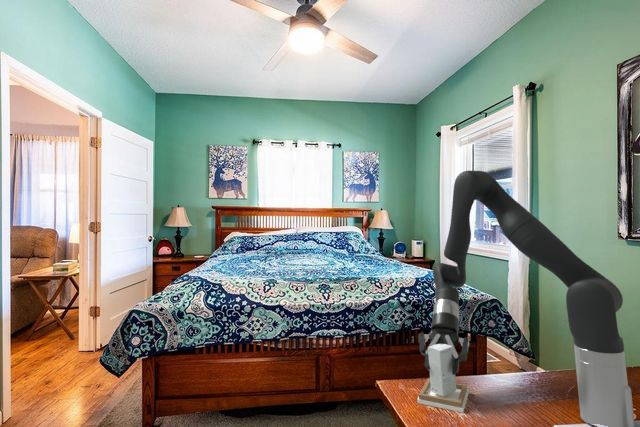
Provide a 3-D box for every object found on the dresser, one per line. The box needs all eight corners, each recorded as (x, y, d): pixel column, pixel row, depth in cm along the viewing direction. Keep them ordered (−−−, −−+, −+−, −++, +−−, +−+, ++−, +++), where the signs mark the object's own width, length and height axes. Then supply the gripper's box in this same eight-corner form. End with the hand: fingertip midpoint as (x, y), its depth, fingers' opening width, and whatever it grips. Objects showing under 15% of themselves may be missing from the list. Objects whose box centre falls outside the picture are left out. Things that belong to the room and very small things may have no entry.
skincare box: (443, 397, 90) (440, 351, 90) (429, 391, 93) (426, 346, 94) (457, 390, 93) (454, 346, 94) (443, 384, 97) (440, 342, 97)
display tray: (468, 392, 95) (468, 384, 95) (463, 412, 85) (462, 403, 85) (427, 385, 101) (426, 377, 101) (417, 403, 91) (417, 394, 91)
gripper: (419, 309, 104) (411, 361, 93) (469, 312, 97) (467, 369, 86) (424, 322, 109) (417, 373, 98) (472, 326, 102) (471, 382, 91)
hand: (440, 371), depth 92 cm, fingers closed on skincare box, 6 cm apart
